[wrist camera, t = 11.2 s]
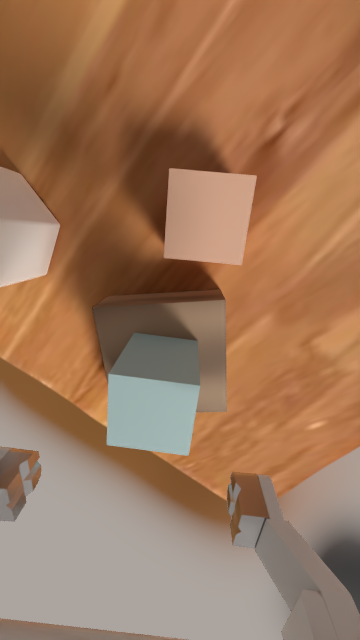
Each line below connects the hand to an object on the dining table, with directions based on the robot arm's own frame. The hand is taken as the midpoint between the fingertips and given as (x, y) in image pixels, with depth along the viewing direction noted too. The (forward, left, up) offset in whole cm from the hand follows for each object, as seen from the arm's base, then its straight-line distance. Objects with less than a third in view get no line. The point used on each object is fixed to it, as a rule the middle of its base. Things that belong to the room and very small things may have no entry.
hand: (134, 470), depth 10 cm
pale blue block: (+1, 0, -10) cm, 10 cm away
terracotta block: (-10, +2, -13) cm, 17 cm away
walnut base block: (0, 0, -14) cm, 14 cm away
